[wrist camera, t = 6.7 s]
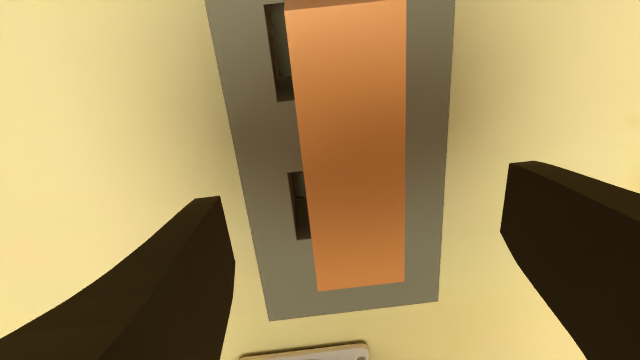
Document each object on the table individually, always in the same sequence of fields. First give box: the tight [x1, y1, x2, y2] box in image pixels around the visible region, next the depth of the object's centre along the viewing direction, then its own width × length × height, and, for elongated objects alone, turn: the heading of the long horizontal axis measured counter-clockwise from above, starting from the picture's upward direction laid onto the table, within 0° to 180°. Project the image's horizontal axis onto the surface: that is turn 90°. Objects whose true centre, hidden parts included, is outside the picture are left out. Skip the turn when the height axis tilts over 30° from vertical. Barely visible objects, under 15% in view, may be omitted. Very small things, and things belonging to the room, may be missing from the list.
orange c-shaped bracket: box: [284, 0, 406, 292], centre depth 15 cm, size 9×3×6 cm, turn 5°
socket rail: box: [205, 0, 455, 321], centre depth 17 cm, size 18×8×4 cm, turn 5°
